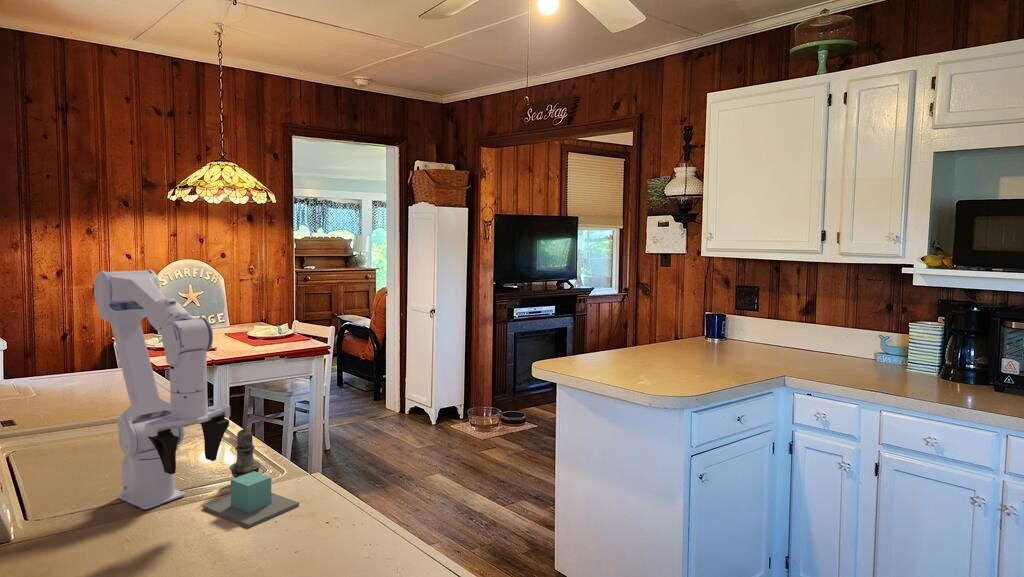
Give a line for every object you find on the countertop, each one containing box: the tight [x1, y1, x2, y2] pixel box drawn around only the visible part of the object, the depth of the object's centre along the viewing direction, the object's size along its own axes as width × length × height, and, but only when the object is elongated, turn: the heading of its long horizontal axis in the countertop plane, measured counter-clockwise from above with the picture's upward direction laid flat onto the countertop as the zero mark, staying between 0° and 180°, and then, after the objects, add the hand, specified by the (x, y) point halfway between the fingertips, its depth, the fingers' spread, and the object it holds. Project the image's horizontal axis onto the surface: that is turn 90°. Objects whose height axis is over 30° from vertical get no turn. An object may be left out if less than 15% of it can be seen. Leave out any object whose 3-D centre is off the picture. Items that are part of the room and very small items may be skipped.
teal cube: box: [230, 471, 272, 513], centre depth 124 cm, size 5×5×5 cm
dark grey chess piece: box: [228, 424, 261, 479], centre depth 135 cm, size 6×6×12 cm
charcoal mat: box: [202, 492, 300, 529], centre depth 125 cm, size 13×11×1 cm
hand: (190, 466), depth 117 cm, fingers open, 7 cm apart
